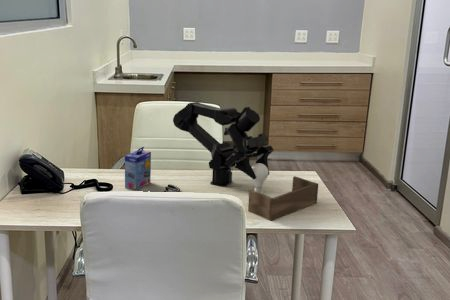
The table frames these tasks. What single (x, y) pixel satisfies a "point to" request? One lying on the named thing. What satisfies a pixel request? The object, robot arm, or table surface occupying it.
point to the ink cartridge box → (137, 169)
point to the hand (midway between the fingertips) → (261, 176)
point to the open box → (284, 200)
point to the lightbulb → (259, 176)
